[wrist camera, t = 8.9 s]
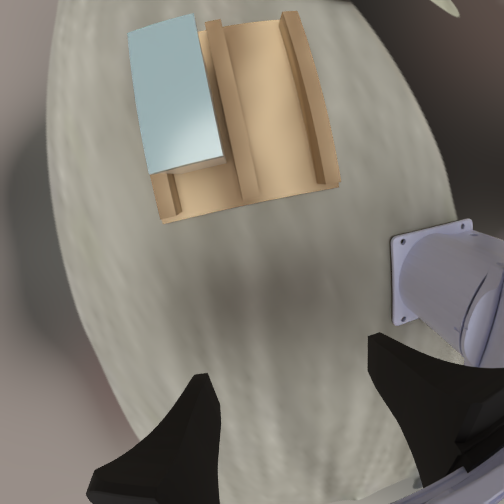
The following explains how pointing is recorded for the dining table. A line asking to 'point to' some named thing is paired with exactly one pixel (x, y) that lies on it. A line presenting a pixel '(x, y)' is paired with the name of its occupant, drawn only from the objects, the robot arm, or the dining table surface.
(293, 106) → the rack
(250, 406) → the dining table surface
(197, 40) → the tall pale blue block
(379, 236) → the dining table surface
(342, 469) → the dining table surface
